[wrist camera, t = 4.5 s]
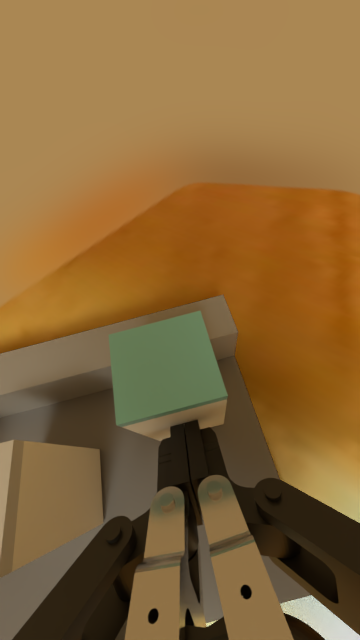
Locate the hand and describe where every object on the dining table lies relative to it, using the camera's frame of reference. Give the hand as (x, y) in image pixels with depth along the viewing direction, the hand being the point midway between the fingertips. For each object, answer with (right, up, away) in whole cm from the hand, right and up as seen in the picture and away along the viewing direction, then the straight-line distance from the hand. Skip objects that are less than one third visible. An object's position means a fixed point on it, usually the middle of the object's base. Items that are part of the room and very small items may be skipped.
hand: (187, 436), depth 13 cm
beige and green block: (0, 0, +4) cm, 4 cm away
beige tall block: (-8, -5, +3) cm, 9 cm away
